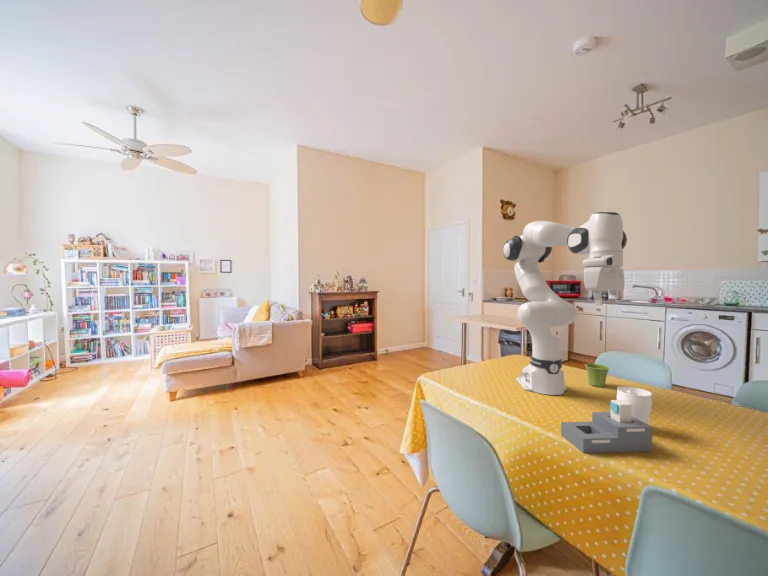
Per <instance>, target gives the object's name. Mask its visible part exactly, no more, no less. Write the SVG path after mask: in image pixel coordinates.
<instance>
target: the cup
mask: <svg viewBox="0 0 768 576" xmlns="http://www.w3.org/2000/svg"><path fill="white" fill-rule="evenodd" d="M616 391H617V392H616V400H623V401H625V402H627V403H629V404H632V416H633V417H635V418H637V419H639V420H640V421H642V422H644V423H646V424H648V425H649V420H650V415H651V412H652V411H651V410H652V406H653V400H652V399H653V397H652V392H650V391H648V390H646V389H642V388H639V387H634V386H628V385H627V386H626V385H625V386H622V385H621V386H618V387H617V390H616Z"/></svg>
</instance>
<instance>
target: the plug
mask: <svg viewBox="0 0 768 576" xmlns="http://www.w3.org/2000/svg"><path fill="white" fill-rule="evenodd" d="M609 409H610V412H611V417H610V418H612V419H614V420H615V421H617V422H619V423H631V419H632V404H629V403H627V402H625V401H623V400H617V399H611V400H610V408H609Z"/></svg>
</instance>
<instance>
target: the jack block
mask: <svg viewBox="0 0 768 576" xmlns="http://www.w3.org/2000/svg"><path fill="white" fill-rule="evenodd" d="M591 415H592V416H591V418H592V419H591V421H561V422H560V435H561V436H562V438H564V439H565V438H566V439H565V440H567V441H568V442H569V443H570V444H571V445H572V446H574V447H575V448H576V449H577V450H579V451H581V453H582V454H585V453H586V454H587V453H588V454H591V453H627V452H628V453H629V452H630V453H631V452H634V453H636V452H637V453H638V452H653V449H652V448H653V426H652V425H650V424H649V423H648V424H646V423H644V422H642V421H640V420H639V419H637V418H635V417H633V416H632V419H631V423H619V422H617V421H615V420H614V419H612V418H610V417H611V411H593V412H592V414H591Z"/></svg>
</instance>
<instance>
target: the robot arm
mask: <svg viewBox="0 0 768 576" xmlns="http://www.w3.org/2000/svg"><path fill="white" fill-rule="evenodd" d="M627 242H628V238H627V234H626V232H625V231H624V227H623V219H622V216H621V214H620V213H618V212H616V211H599V212H594V213H592V214H591V215H590V217H589V219H588V220H587V221H586V222H584V223H583V224H582V225H580V226H578V227H576V226H575V227H574V226H572V225H566V224H562V223H560V222H559V223H558V222H555V221H550V220H535V221H532V222H529V223H527V224H526V225H525V226H524V228H523V231H522V235H520V236H519V235H514V236H513V237H512V238H509V239H508V240H506V241H505V242H504V244H503V246H502V254H503V256H504V258H505V259H506V260H508V261H512V262H513V261H514V262H516V261H517V262H516V263H515V264H514V266H513V267H514V274H515V279H516V281H517V283H518V285H519V287H520V288H519V289H520V290H521V293H522V295H523V297H524V298H525V299H526V300H528V302H525V303H522V304H520V306H519V307H518V309H517V318H518V321H519V322H520V323H521V324H522V325H523V326H524V327H525V328H526V329H527V330H528V332H529V335H530V338H531V348H532V352H531V353H532V354H531V355H530V356H529V359H530V361H529V364H528V365H526V366H525V367H523V368H522V370H521V372H520V376H518V377H516V378H515V379H516V382H518V383H519V385H520V386H521V387H522V388H523V389H524V391H525V390H526V391H528V392H533V393H537V394H543V395H548V396H549V395H550V396H560V395H564V394H565V392H566V391H568V387H567V386H566V384H565V382H566V381H565V374H564V372H565V371H564V370H563V369H562V367H563V362H562V361H563V360H562V357H561V356H562V355H561V353H562V351H561V350H562V342H561V341H560V339H559V338H558V337H557V336H556V335H553V334H552V331H551V327H563V326H568V325H571V324H574V323H575V322H576V319H577V318H578V311H577V309H576V306H575V305H574V304H573V303H571V302H569V301H566V300H565V299H563V298H562V297H560V296H559V295H558V294H557V293H556V292H554V290H553V289H551V287H550V286H549V284H548V283H547V281H546V279H545V278H544V276H543V274H542V271H541V270H540V268H539V266H538V264H540V263H543V262H545V259H547V258H548V257H549V256H550V255H551V252H552V250H553V248H555V247H565V246H566V247H568V250H569V251H570V252H571V253H572V254H577V255H589V256H588V257H586V258H585V259H583V260H582V267H584V270H583V279H584V280H583V281H584V287H585V290H586V291H592V296H593V299H594V305H595V306H602V305H604V299H603V298H602V297H603V296H602V295H603V291H608V294H609V296H608V298H607V304H608V305H616V304H617V298H618V295H619V291H624V289H625V283H626V282H625V272H624V269H623V268H622V267H624V250H623V249H624V248H625V247H626V246H627Z"/></svg>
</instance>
